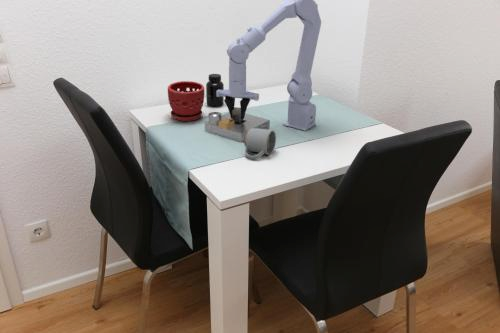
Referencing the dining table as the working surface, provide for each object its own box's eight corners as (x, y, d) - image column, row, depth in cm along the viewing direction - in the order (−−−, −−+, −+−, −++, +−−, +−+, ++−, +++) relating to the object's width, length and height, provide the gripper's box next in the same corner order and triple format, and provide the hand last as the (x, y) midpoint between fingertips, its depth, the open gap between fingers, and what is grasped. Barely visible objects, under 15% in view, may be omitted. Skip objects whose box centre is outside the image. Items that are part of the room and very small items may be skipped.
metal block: (243, 127, 165) (243, 108, 162) (240, 130, 162) (240, 110, 159) (234, 126, 166) (234, 107, 163) (232, 129, 163) (232, 109, 160)
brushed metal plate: (269, 127, 166) (270, 111, 163) (241, 142, 154) (241, 125, 152) (233, 118, 174) (233, 102, 172) (205, 130, 163) (204, 114, 160)
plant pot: (163, 121, 171) (160, 89, 165) (179, 109, 182) (177, 79, 177) (196, 125, 167) (194, 93, 162) (210, 113, 178) (209, 82, 173)
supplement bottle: (204, 106, 185) (202, 76, 180) (210, 101, 191) (209, 72, 186) (220, 108, 183) (219, 78, 178) (226, 103, 189) (225, 73, 184)
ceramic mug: (252, 144, 153) (252, 122, 149) (276, 149, 150) (276, 127, 146) (238, 158, 144) (238, 134, 141) (263, 163, 141) (263, 139, 138)
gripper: (261, 78, 158) (260, 116, 164) (220, 74, 162) (221, 112, 168) (256, 84, 152) (255, 123, 158) (213, 80, 155) (214, 118, 162)
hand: (237, 118), depth 162 cm, fingers closed on metal block, 3 cm apart
